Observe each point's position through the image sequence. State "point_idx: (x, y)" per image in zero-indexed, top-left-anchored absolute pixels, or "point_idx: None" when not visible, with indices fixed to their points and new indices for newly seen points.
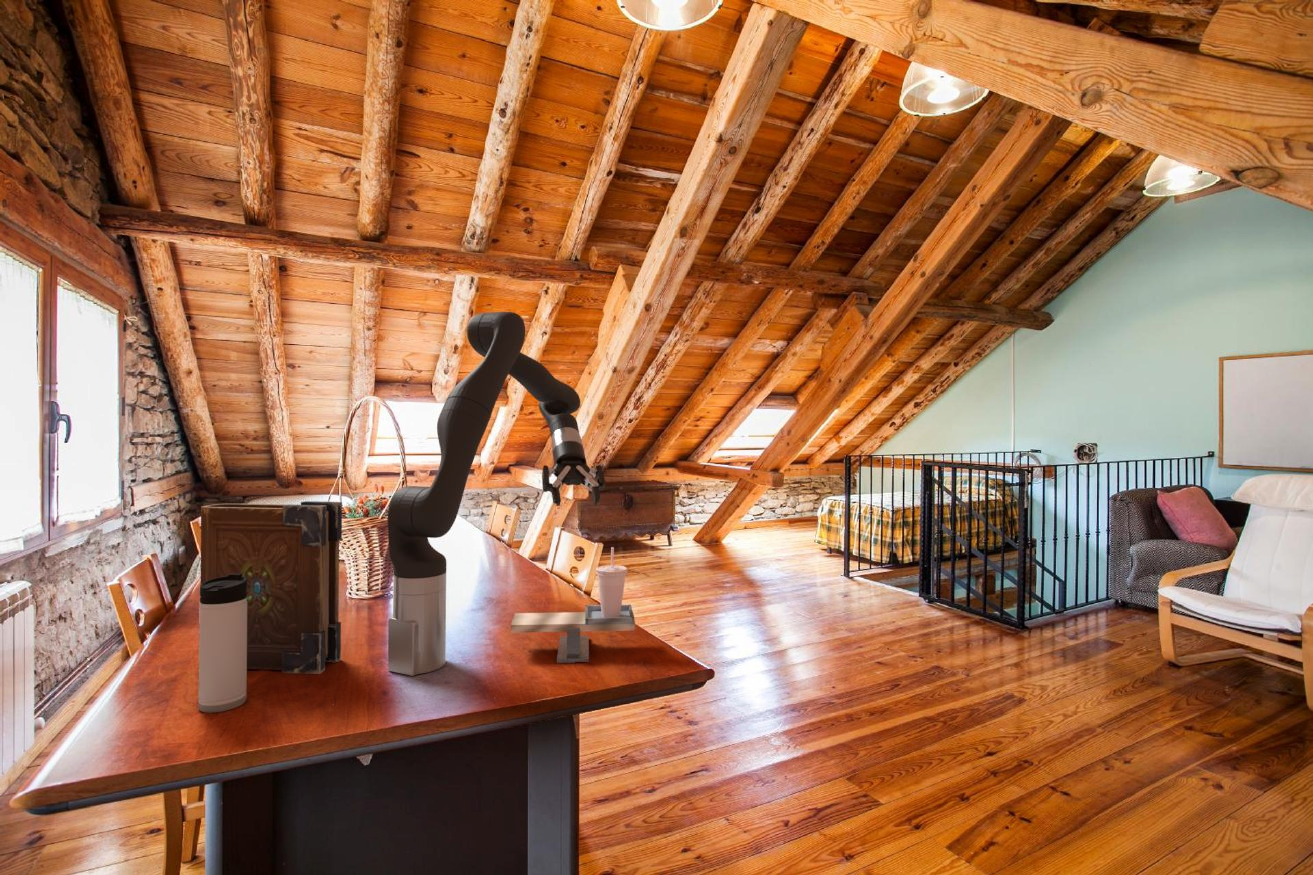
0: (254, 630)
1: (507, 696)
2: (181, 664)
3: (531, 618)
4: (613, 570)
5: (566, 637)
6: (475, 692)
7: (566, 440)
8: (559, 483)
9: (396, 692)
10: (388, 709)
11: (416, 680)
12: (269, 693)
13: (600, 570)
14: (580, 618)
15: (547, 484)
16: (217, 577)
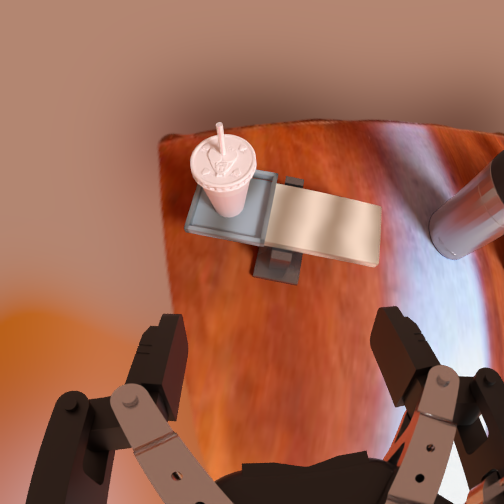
0: None
1: (359, 136)
2: None
3: (354, 229)
4: (225, 139)
5: (288, 272)
6: (387, 152)
7: None
8: (422, 394)
9: (446, 176)
10: (439, 149)
11: (441, 196)
12: None
13: (250, 146)
14: (279, 209)
15: (481, 372)
16: None
